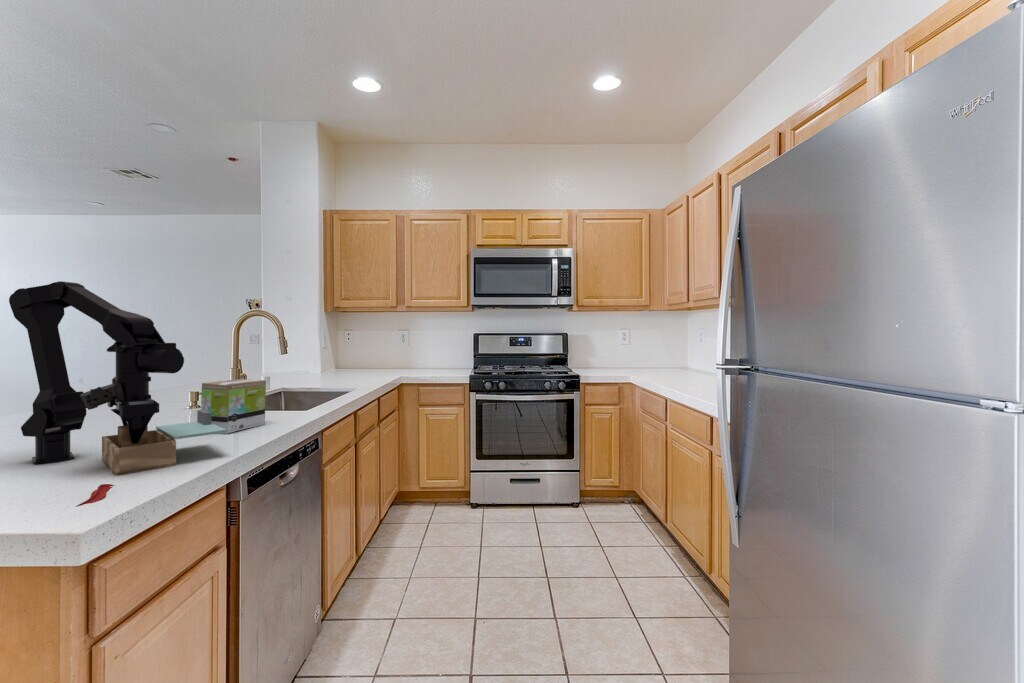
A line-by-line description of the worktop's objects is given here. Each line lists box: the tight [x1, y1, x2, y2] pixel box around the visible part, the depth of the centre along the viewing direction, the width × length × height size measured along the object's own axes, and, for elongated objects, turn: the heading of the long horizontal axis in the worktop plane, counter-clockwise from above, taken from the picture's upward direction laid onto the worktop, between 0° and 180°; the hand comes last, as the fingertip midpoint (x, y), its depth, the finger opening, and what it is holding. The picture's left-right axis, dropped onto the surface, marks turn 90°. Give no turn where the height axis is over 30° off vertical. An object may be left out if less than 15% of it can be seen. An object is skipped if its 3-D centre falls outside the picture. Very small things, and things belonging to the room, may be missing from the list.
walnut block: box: [117, 425, 149, 448], centre depth 102 cm, size 4×4×4 cm
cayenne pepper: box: [75, 483, 114, 508], centre depth 83 cm, size 12×5×2 cm, turn 6°
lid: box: [155, 409, 227, 440], centre depth 110 cm, size 16×10×4 cm, turn 49°
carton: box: [101, 429, 177, 476], centre depth 103 cm, size 16×10×6 cm, turn 49°
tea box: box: [200, 378, 267, 435], centre depth 140 cm, size 15×10×15 cm
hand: (132, 441), depth 102 cm, fingers closed on walnut block, 4 cm apart
